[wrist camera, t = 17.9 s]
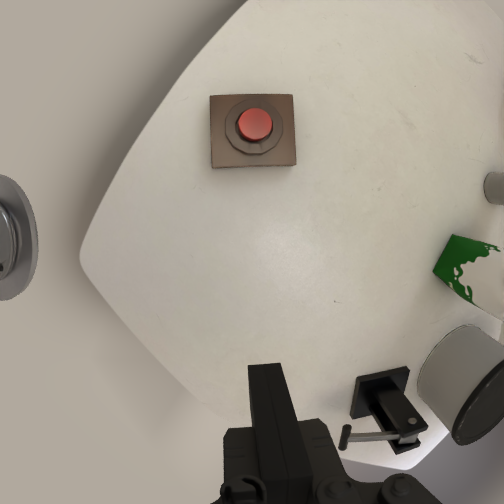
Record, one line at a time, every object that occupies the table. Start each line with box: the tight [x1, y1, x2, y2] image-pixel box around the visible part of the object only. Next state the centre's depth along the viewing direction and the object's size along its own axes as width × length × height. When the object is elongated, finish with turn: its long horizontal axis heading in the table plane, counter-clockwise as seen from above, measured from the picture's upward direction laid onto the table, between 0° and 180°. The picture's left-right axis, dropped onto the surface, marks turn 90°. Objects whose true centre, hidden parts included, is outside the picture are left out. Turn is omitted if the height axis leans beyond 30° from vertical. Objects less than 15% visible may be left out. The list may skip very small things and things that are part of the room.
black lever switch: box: [350, 366, 428, 455], centre depth 39 cm, size 10×9×14 cm
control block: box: [210, 94, 296, 169], centre depth 34 cm, size 10×9×4 cm
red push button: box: [238, 108, 272, 142], centre depth 31 cm, size 4×4×2 cm
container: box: [417, 325, 504, 446], centre depth 40 cm, size 19×19×15 cm
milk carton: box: [433, 234, 504, 322], centre depth 32 cm, size 9×9×20 cm
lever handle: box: [338, 424, 419, 451], centre depth 35 cm, size 12×5×2 cm, turn 92°
